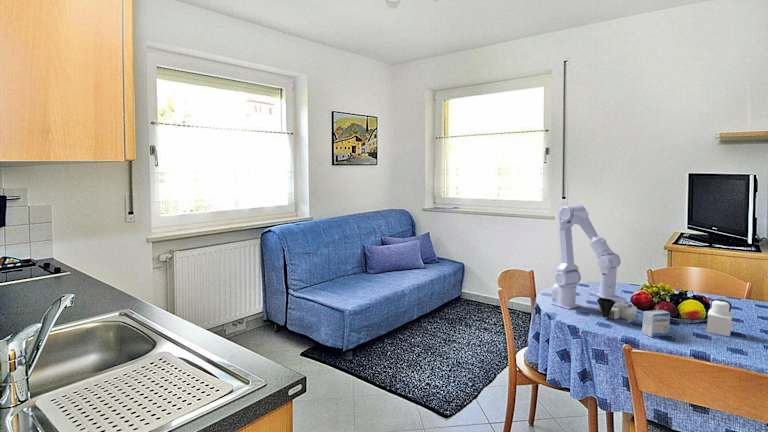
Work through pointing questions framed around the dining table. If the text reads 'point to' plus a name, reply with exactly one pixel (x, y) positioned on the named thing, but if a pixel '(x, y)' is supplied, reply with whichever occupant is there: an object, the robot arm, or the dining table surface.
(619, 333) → the dining table surface
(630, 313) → the bearing block
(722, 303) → the medicine bottle
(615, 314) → the cream rectangular bar
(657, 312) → the medicine box
